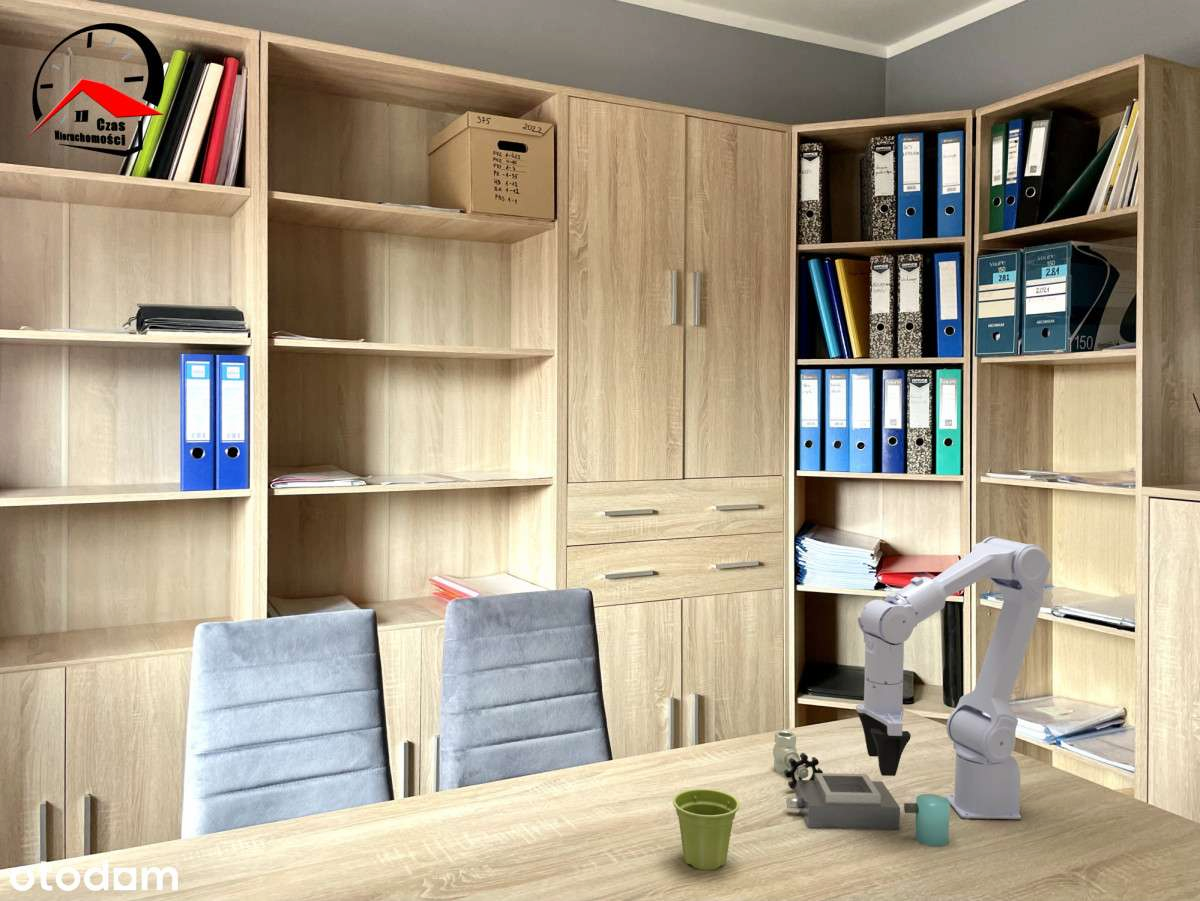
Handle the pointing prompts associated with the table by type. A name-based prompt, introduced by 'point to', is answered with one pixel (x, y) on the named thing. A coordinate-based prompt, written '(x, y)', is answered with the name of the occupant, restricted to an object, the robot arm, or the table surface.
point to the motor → (845, 802)
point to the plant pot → (705, 826)
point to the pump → (930, 819)
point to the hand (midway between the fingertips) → (881, 765)
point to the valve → (792, 758)
